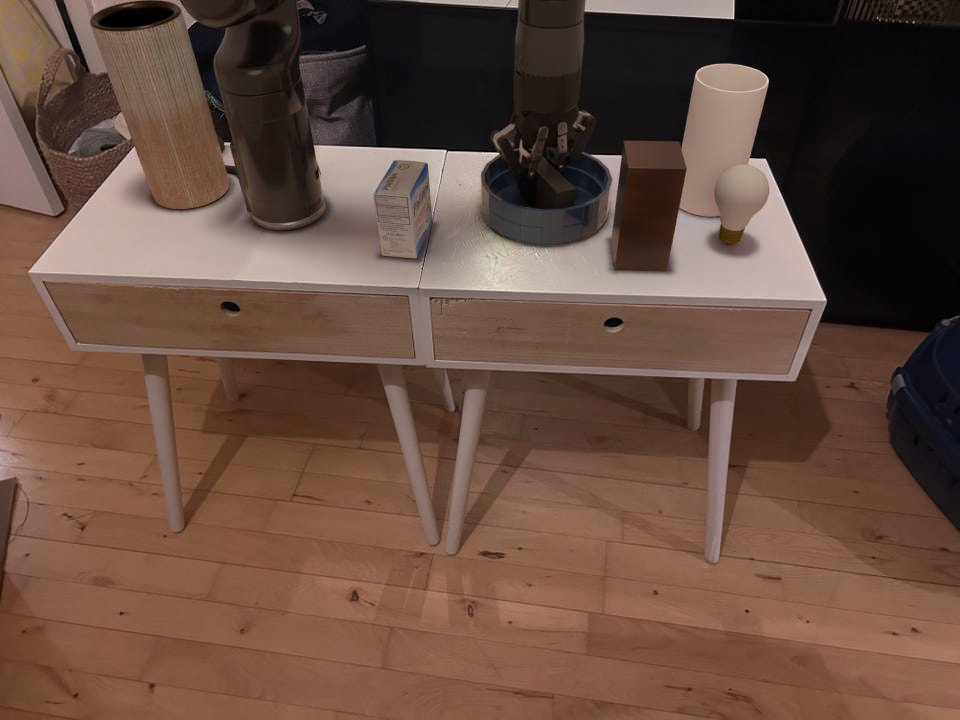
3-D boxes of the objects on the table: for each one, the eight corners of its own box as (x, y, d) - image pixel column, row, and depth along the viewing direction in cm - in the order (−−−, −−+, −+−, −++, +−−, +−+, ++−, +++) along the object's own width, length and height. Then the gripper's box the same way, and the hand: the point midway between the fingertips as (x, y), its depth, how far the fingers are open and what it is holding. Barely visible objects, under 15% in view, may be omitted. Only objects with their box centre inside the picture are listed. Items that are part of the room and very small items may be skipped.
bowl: (457, 222, 93) (455, 186, 89) (523, 168, 102) (524, 134, 99) (569, 262, 86) (572, 225, 83) (628, 201, 96) (633, 166, 92)
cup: (743, 191, 97) (774, 69, 86) (730, 222, 92) (762, 97, 81) (681, 178, 100) (704, 59, 89) (665, 208, 94) (687, 85, 83)
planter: (140, 208, 96) (71, 28, 81) (172, 170, 104) (114, -2, 88) (213, 212, 95) (158, 30, 80) (241, 173, 103) (194, 0, 87)
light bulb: (720, 224, 92) (738, 149, 85) (763, 243, 88) (785, 167, 82) (693, 243, 89) (709, 168, 82) (736, 263, 85) (757, 187, 79)
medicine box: (416, 260, 87) (410, 195, 81) (380, 256, 88) (372, 192, 82) (433, 224, 93) (429, 161, 87) (399, 221, 93) (392, 158, 87)
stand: (614, 270, 85) (628, 167, 76) (610, 240, 89) (623, 140, 80) (667, 271, 85) (687, 168, 76) (661, 241, 89) (679, 141, 80)
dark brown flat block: (517, 187, 96) (517, 152, 93) (533, 184, 97) (535, 148, 94) (554, 229, 89) (557, 192, 85) (572, 225, 89) (575, 188, 86)
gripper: (584, 39, 86) (572, 173, 98) (476, 59, 82) (477, 197, 93) (620, 61, 81) (603, 199, 93) (508, 84, 77) (504, 226, 89)
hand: (540, 197), depth 93 cm, fingers closed on dark brown flat block, 2 cm apart
